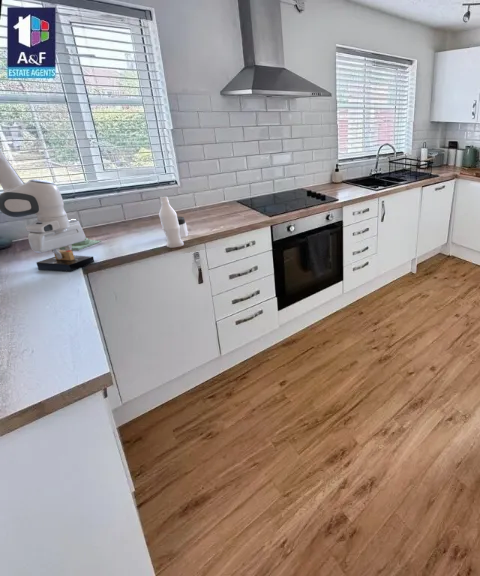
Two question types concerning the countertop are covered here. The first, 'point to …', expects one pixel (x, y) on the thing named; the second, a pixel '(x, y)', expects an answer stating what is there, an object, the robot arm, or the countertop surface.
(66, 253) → the handle
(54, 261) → the panel
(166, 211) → the water bottle
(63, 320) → the countertop surface
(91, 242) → the button block
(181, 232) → the jar
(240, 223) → the countertop surface
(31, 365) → the countertop surface
